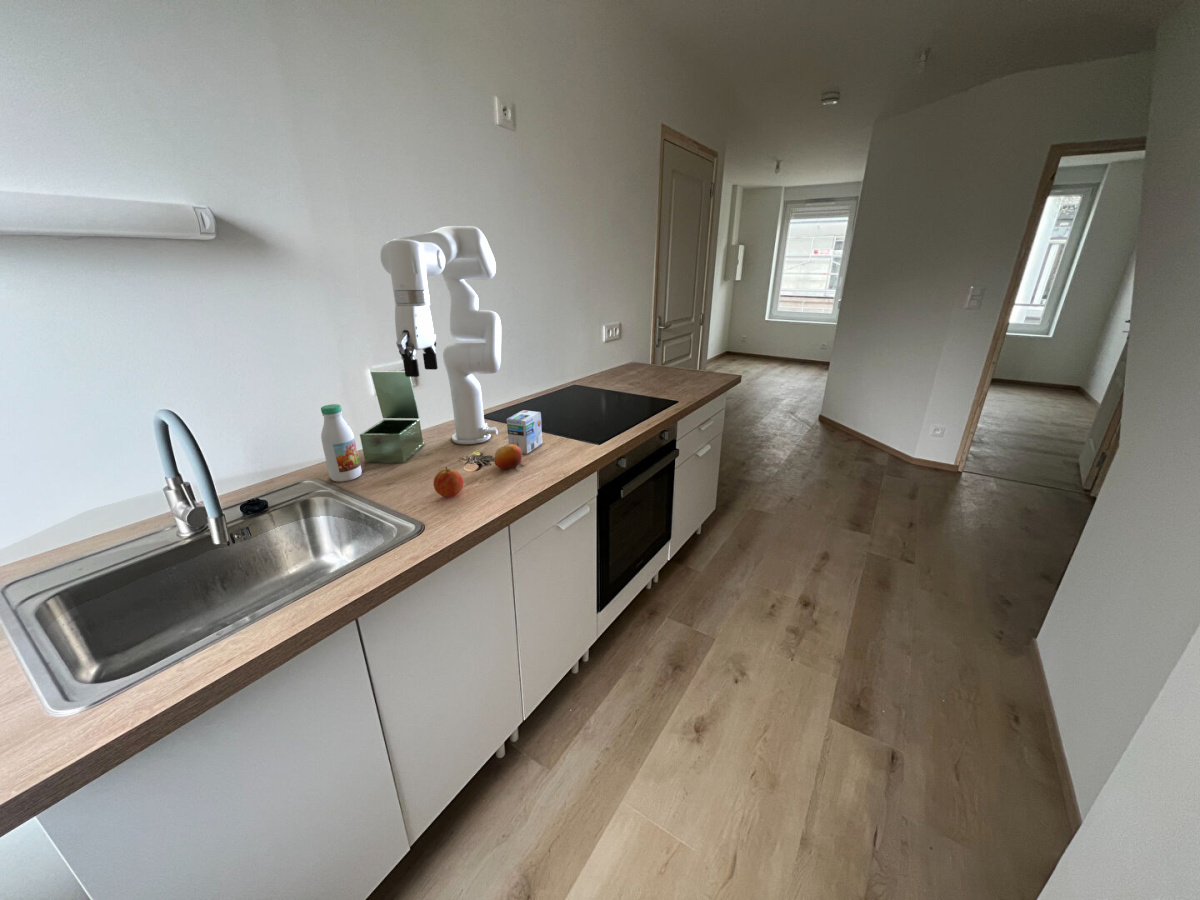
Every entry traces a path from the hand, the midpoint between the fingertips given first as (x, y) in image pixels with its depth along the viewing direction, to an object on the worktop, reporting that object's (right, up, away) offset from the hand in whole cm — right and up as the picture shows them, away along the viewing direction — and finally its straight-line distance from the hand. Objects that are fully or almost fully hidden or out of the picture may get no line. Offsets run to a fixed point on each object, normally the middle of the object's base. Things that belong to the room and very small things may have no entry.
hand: (422, 372), depth 110 cm
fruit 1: (+6, -31, +3) cm, 31 cm away
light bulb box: (+20, -18, +34) cm, 44 cm away
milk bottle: (-26, -26, +14) cm, 40 cm away
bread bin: (-20, -20, +30) cm, 41 cm away
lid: (-20, -2, +29) cm, 35 cm away
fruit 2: (+17, -24, +20) cm, 35 cm away
